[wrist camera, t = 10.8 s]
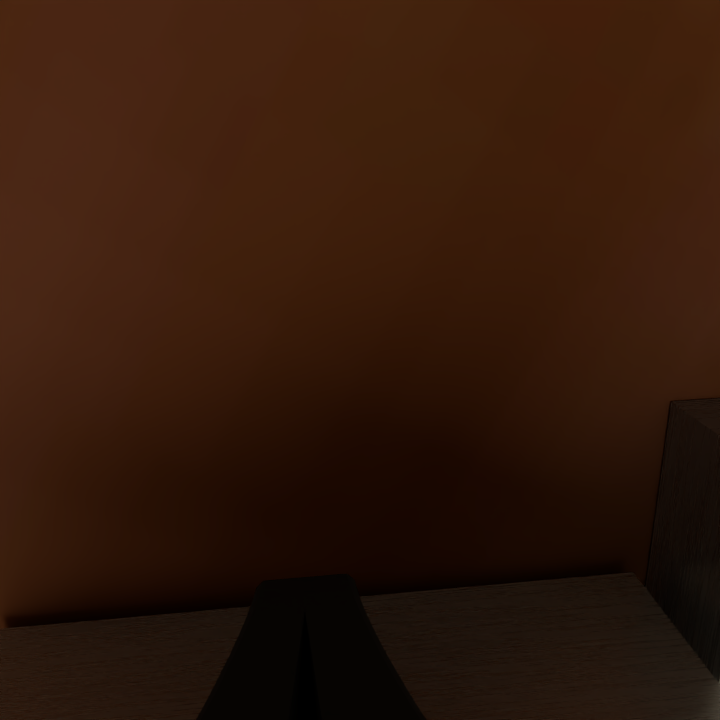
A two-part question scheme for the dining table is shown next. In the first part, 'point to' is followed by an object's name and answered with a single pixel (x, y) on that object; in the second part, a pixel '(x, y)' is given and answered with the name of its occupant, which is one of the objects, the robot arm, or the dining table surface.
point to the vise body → (690, 529)
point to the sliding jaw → (391, 657)
